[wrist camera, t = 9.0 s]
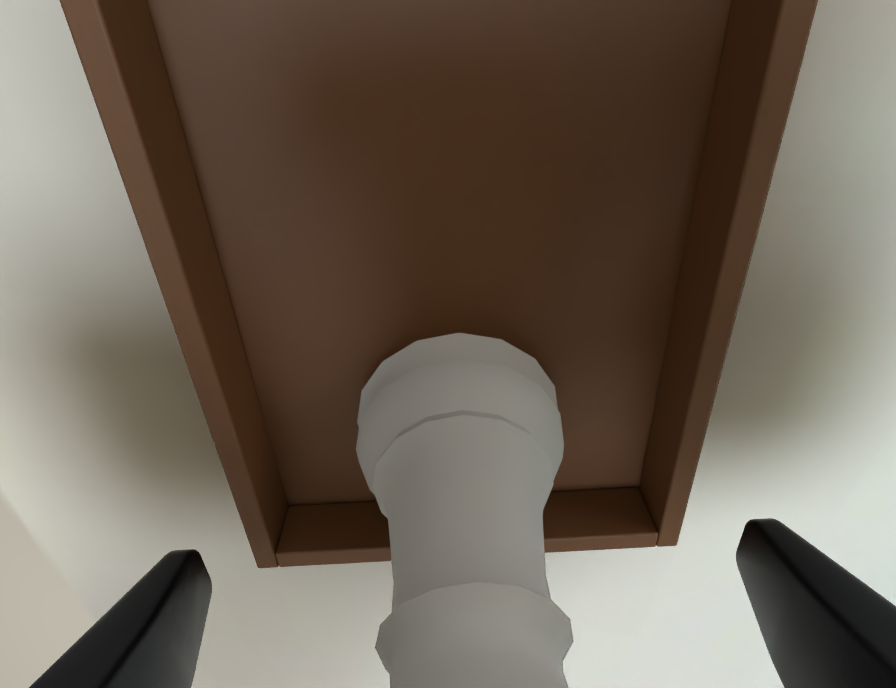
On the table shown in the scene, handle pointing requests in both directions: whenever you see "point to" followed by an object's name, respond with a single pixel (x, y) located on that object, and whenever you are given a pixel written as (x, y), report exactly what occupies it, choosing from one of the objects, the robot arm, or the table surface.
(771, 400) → the table surface
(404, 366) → the rook chess piece
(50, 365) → the table surface
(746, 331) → the table surface
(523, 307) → the tray
